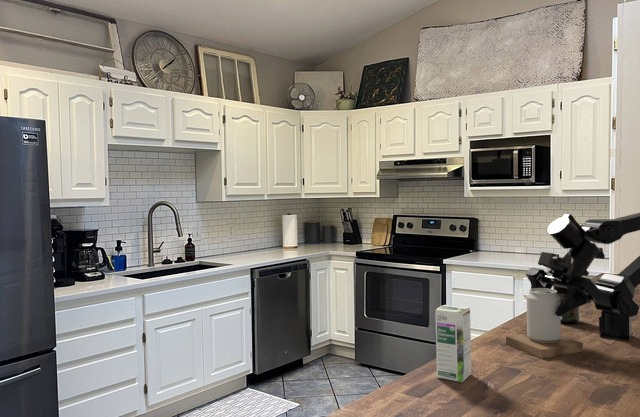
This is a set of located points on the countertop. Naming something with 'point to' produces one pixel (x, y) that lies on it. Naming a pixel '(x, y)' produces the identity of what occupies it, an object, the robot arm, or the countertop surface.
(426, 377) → the countertop surface
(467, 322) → the syrup box
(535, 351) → the tan board
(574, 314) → the supplement container
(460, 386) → the countertop surface
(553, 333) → the can
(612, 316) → the robot arm
